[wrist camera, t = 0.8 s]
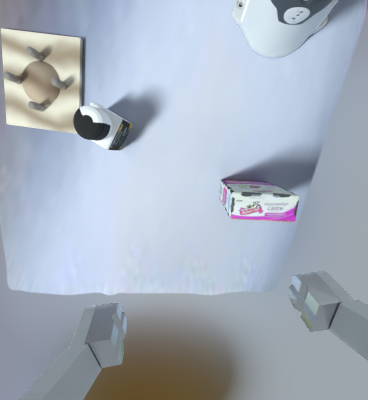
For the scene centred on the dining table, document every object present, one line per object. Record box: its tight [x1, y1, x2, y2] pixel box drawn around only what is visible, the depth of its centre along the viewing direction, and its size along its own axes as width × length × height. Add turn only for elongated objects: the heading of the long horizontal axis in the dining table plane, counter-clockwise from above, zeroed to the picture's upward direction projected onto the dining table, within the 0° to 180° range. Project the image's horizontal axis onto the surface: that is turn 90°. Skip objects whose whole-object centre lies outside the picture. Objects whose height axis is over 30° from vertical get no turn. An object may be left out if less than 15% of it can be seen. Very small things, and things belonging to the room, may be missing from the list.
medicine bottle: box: [73, 102, 132, 150], centre depth 42 cm, size 7×7×12 cm
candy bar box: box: [220, 180, 299, 222], centre depth 41 cm, size 11×5×16 cm, turn 88°
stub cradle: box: [1, 29, 83, 134], centre depth 45 cm, size 20×18×4 cm
